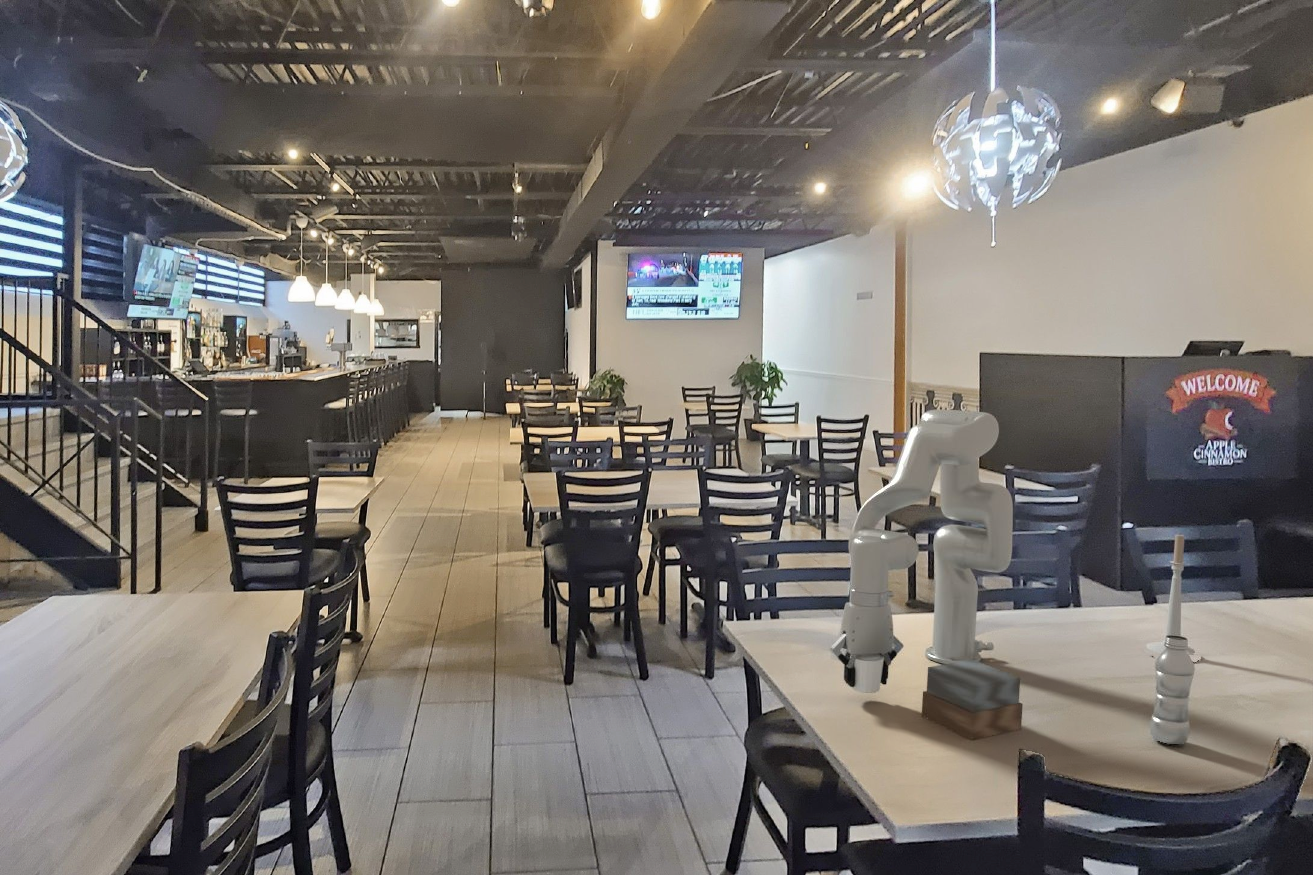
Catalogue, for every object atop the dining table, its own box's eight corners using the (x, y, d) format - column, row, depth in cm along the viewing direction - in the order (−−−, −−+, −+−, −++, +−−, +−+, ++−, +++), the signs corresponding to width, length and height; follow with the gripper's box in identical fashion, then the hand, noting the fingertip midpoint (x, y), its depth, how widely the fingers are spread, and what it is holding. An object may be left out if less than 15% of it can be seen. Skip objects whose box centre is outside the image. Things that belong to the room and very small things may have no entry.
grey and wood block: (970, 706, 198) (972, 658, 197) (1021, 729, 186) (1024, 678, 186) (921, 716, 192) (924, 666, 191) (971, 740, 180) (974, 687, 179)
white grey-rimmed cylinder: (883, 695, 195) (884, 661, 195) (848, 692, 197) (849, 659, 196) (882, 683, 202) (883, 650, 201) (848, 681, 203) (849, 648, 203)
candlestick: (1144, 658, 234) (1153, 535, 232) (1139, 644, 246) (1148, 526, 244) (1204, 665, 230) (1214, 540, 227) (1197, 651, 241) (1206, 531, 239)
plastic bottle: (1141, 735, 185) (1148, 632, 183) (1175, 735, 185) (1183, 632, 184) (1161, 749, 178) (1169, 642, 177) (1196, 749, 179) (1205, 642, 177)
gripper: (899, 590, 203) (896, 674, 205) (821, 595, 199) (819, 680, 201) (916, 600, 196) (913, 687, 198) (836, 604, 192) (833, 693, 194)
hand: (865, 682), depth 199 cm, fingers closed on white grey-rimmed cylinder, 6 cm apart
